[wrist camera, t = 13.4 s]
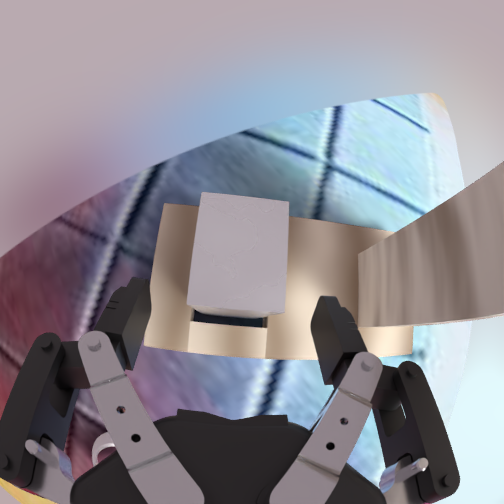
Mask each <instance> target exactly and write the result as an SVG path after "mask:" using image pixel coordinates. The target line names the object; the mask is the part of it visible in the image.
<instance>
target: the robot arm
mask: <svg viewBox="0 0 504 504" xmlns="http://www.w3.org/2000/svg"><path fill="white" fill-rule="evenodd" d="M151 310H152V304H151V295H150V286H149V280H148V279H143V278H136V277H132V279H131V280H130V282H129V284H128V286H127V287H122V286H121V287H120V288H119V289H118V290H116V291H115V292H114V293H113V295H112V296H111V298H110V300H109V302H108V304H107V306H106V308H105V309H104V311H103V313H102V315H101V317H100V319H99V321H98V323H97V325H96V327H95V329H94V331H91V332H88V333H86V334H84V335H83V336H82V337H81V338H80V340H79V341H70V342H61V340H60V338H59V337H58V336H57V335H56V334H54V333H44V334H42V335H40V336H39V337H37V339H36V340H35V341H34V343H33V345H32V347H31V349H30V351H29V353H28V355H27V357H26V359H25V361H24V363H23V365H22V368H21V370H20V372H19V374H18V376H17V379H16V381H15V383H14V386H13V388H12V391H11V393H10V396H9V398H8V401H7V403H6V406H5V409H4V412H3V414H2V417H1V420H0V478H2V479H4V480H6V481H7V482H9V483H11V484H13V485H14V486H16V487H17V488H20V489H22V490H24V491H26V492H28V493H31V494H33V495H37V496H40V497H42V498H46V499H49V500H51V501H53V502H56V503H58V504H432V503H434V502H437V501H439V500H441V499H444V498H446V497H448V496H450V495H452V494H454V493H455V492H456V490H457V489H458V486H459V483H460V476H459V471H458V468H457V465H456V461H455V457H454V454H453V450H452V447H451V445H450V441H449V438H448V435H447V432H446V429H445V426H444V423H443V420H442V418H441V415H440V412H439V410H438V407H437V404H436V402H435V399H434V397H433V394H432V392H431V389H430V387H429V385H428V382H427V380H426V377H425V375H424V373H423V371H422V369H421V368H420V366H419V365H417V364H416V363H414V362H411V361H404V362H402V363H401V364H400V365H399V367H398V368H396V367H391V366H386V365H382V362H381V361H380V359H379V358H378V357H377V356H375V355H374V354H372V353H369V352H368V350H367V348H366V345H365V343H364V341H363V338H362V336H361V334H360V331H359V330H358V327H357V325H356V324H355V320H354V318H353V316H352V314H351V313H350V312H349V311H348V310H347V309H346V308H345V307H341V306H340V303H339V301H338V299H337V297H336V296H320V297H319V299H318V302H317V305H316V308H315V310H314V313H313V316H312V319H311V324H310V329H311V334H312V338H313V342H314V345H315V349H316V353H317V357H318V361H319V365H320V369H321V373H322V377H323V381H324V385H332V384H333V386H334V390H333V391H332V393H331V395H330V396H329V398H328V400H327V401H326V403H325V405H324V406H323V408H322V410H321V411H320V413H319V415H318V416H317V418H316V419H315V421H314V422H313V424H312V425H311V427H310V428H309V429H306V428H304V427H303V426H300V425H298V424H295V423H292V422H288V418H287V415H259V416H254V417H249V418H244V419H238V420H230V419H226V418H223V417H219V416H216V415H213V414H210V413H206V412H200V411H191V410H183V409H178V411H177V415H176V416H169V417H165V418H162V419H159V420H157V421H154V422H152V421H151V419H150V417H149V416H148V414H147V412H146V410H145V409H144V407H143V405H142V403H141V402H140V400H139V398H138V396H137V394H136V392H135V390H134V389H133V387H132V385H131V383H130V381H129V379H128V377H127V375H126V374H125V373H124V371H125V369H127V370H132V371H133V368H134V365H135V362H136V358H137V355H138V352H139V349H140V346H141V343H142V340H143V337H144V334H145V331H146V328H147V325H148V322H149V319H150V316H151ZM89 388H90V390H91V393H92V396H93V398H94V401H95V403H96V406H97V408H98V411H99V413H100V415H101V418H102V420H103V422H104V424H105V427H106V429H107V431H108V433H109V435H110V437H111V439H112V441H113V443H114V445H115V447H116V449H117V450H116V451H115V452H113V453H112V454H111V455H109V456H108V457H107V458H105V459H104V460H102V461H101V462H100V463H98V464H97V465H96V466H94V467H93V468H91V469H90V470H89V471H87V472H86V473H84V474H83V475H81V476H80V477H79V478H78V479H77V480H76V481H75V480H74V478H73V476H72V473H71V462H70V459H69V457H68V456H67V455H66V453H65V452H64V447H65V442H66V438H67V434H68V430H69V426H70V422H71V418H72V414H73V411H74V407H75V404H76V400H77V397H78V393H79V390H80V389H89ZM401 404H402V406H403V409H404V412H403V409H402V406H401ZM371 408H372V410H373V414H374V418H375V422H376V426H377V430H378V434H379V439H380V443H381V448H382V452H383V457H384V462H385V467H386V469H385V470H384V472H383V473H382V476H381V481H380V483H379V486H380V489H379V488H378V487H376V486H375V485H374V484H372V483H371V482H370V481H369V480H367V479H366V478H365V477H364V476H362V475H361V474H360V473H359V472H357V471H356V470H355V469H354V468H352V467H351V466H350V465H349V464H348V463H346V462H347V460H348V458H349V456H350V454H351V452H352V450H353V448H354V446H355V444H356V442H357V440H358V438H359V436H360V434H361V431H362V429H363V427H364V425H365V422H366V420H367V418H368V416H369V413H370V411H371ZM404 413H405V416H406V419H405V416H404Z"/></svg>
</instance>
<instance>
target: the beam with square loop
mask: <svg viewBox="0 0 504 504" xmlns="http://www.w3.org/2000/svg"><path fill="white" fill-rule="evenodd" d="M198 212H199V206H192V205H181V204H169V203H164V207H163V212H162V217H161V222H160V227H159V232H158V238H157V244H156V249H155V255H154V262H153V268H152V275H151V282H150V295H151V304H152V310H151V316H150V319H149V322H148V325H147V328H146V331H145V338H144V346H149V347H155V348H162V349H168V350H175V351H183V352H191V353H199V354H208V355H218V356H230V357H243V358H260V359H287V360H318V357H317V353H316V349H315V345H314V342H313V338H312V334H311V329H310V324H311V319H312V316H313V313H314V310H315V308H316V305H317V302H318V299H319V297H320V296H336V297H337V299H338V301H339V303H340V306H341V307H345V308H346V309H347V310H348V311H349V312H350V313H351V314H352V316H353V318H354V320H355V324H356V325H357V327H358V330H359V331H360V334H361V336H362V338H363V341H364V343H365V345H366V348H367V350H368V352H369V353H372V354H374V355H375V356H377V357H386V356H396V355H406V354H412V346H413V326H422V325H434V324H445V323H454V322H463V321H471V320H479V319H486V318H493V317H498V316H504V161H503V162H502V163H501V164H499V165H498V166H497V167H495V168H494V169H492V170H491V171H490V172H488V173H487V174H485V175H484V176H482V177H481V178H480V179H478V180H477V181H475V182H474V183H472V184H471V185H469V186H468V187H466V188H465V189H463V190H462V191H460V192H459V193H457V194H456V195H454V196H453V197H451V198H450V199H448V200H447V201H445V202H444V203H442V204H441V205H439V206H437V207H436V208H434V209H433V210H431V211H430V212H428V213H426V214H425V215H423V216H422V217H420V218H418V219H417V220H415V221H414V222H412V223H410V224H409V225H407V226H405V227H404V228H402V229H400V230H399V231H397V232H391V231H385V230H379V229H373V228H367V227H361V226H354V225H348V224H342V223H335V222H328V221H321V220H314V219H307V218H300V217H292V216H289V227H288V256H287V278H286V298H285V313H282V314H277V315H272V316H266V317H263V322H262V328H257V327H244V326H232V325H221V324H211V323H202V322H194V312H195V309H194V308H192V307H190V306H189V305H187V295H188V286H189V278H190V269H191V261H192V254H193V246H194V239H195V232H196V225H197V219H198Z"/></svg>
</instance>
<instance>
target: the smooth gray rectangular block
mask: <svg viewBox="0 0 504 504" xmlns="http://www.w3.org/2000/svg"><path fill="white" fill-rule="evenodd" d="M288 227H289V202H287V201H279V200H272V199H264V198H255V197H247V196H238V195H228V194H219V193H208V192H202V194H201V200H200V206H199V212H198V219H197V225H196V232H195V239H194V246H193V254H192V261H191V269H190V278H189V286H188V295H187V305H189V306H190V307H192V308H194V309H195V310H197V311H199V312H200V313H202V314H205V315H214V316H224V317H236V318H248V319H255V318H261V317H266V316H272V315H277V314H282V313H285V298H286V278H287V256H288Z"/></svg>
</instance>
